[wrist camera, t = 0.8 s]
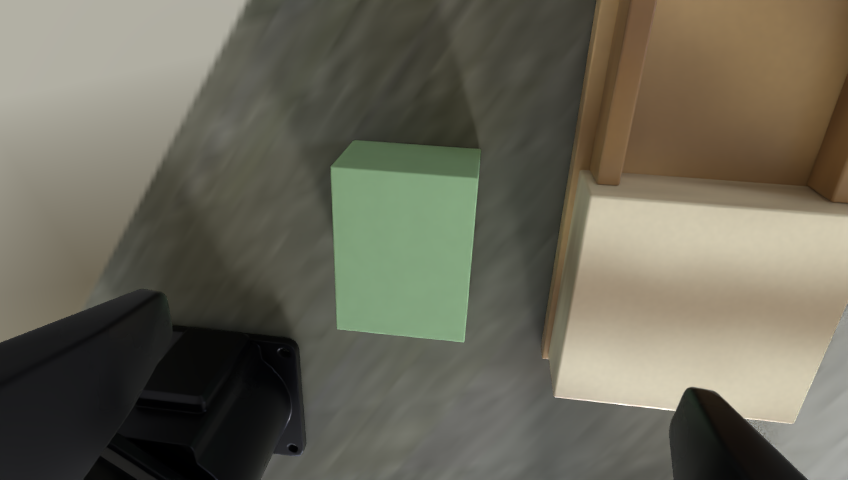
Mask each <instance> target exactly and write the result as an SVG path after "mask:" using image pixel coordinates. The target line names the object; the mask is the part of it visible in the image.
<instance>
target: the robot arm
mask: <svg viewBox="0 0 848 480" xmlns="http://www.w3.org/2000/svg"><path fill="white" fill-rule="evenodd" d="M282 348H285V349H287V350H289V352H286V351H284V350H283V349H282ZM669 438H670V448H671V458H672V468H673V477H674V480H808V479H807V478H806V477H805V476H804V475H802V474H801V473H800V472H799V471H798V470H797V469H796V468H795V467H794V466H793V465H792V464H791V463H790V462H789V461H788V460H787V459H786V458H785V457H784V456H783V455H782V454H781V453H780V452H779V451H778V450H776V449H775V448H774V447H773V446H772V445H771V444H770V443H769V442H768V441H767V440H766V439H765V438H764V437H763V436H762V435H761V434H760V433H759V432H758V431H757V430H756V429H755V428H754V427H753V426H752V425H750V424H749V423H748V422H747V421H746V420H745V419H744V418H743V417H742V416H741V415H740V414H739V413H738V412H737V411H736V410H735V409H734V408H733V407H732V406H731V405H730V404H729V403H728V402H727V401H726V400H725V399H723V398H722V397H721V396H720V395H719V394H718V393H717V392H715V391H713V390H708V389H703V388H697V387H689V388H687V389H686V390H685V391H684V393H683V395H682V397H681V400H680V402H679V404H678V406H677V409H676V411H675V413H674V416H673V418H672V420H671V423H670V429H669ZM295 445H296V446H295ZM305 446H306V434H305V421H304V408H303V395H302V382H301V369H300V356H299V347H298V344H297V343H296V342H295V341H294V340H292V339H290V338H285V337H275V336H266V335H257V334H247V333H239V332H230V331H221V330H211V329H202V328H192V327H182V326H172V322H171V317H170V311H169V306H168V300H167V297H166V296H165V294H164V293H162V292H159V291H153V290H148V289H139V290H136V291H133V292H131V293H128V294H126V295H123V296H120V297H118V298H115V299H113V300H110V301H107V302H105V303H102V304H100V305H97V306H94V307H92V308H89V309H87V310H84V311H81V312H79V313H76V314H74V315H71V316H69V317H66V318H64V319H61V320H58V321H55V322H53V323H50V324H48V325H45V326H43V327H40V328H37V329H35V330H32V331H29V332H27V333H24V334H22V335H19V336H17V337H14V338H11V339H9V340H6V341H3V342H1V343H0V480H261V478H262V476H263V473H264V471H265V469H266V467H267V465H268V463H269V461H270V459H271V456H272V454H281V455H289V456H299V455H301V454H302V453H303V451H304V449H305Z"/></svg>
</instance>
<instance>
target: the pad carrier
mask: <svg viewBox="0 0 848 480" xmlns="http://www.w3.org/2000/svg"><path fill="white" fill-rule="evenodd" d="M847 303H848V0H597V1H596V7H595V13H594V20H593V26H592V32H591V38H590V44H589V51H588V57H587V63H586V69H585V75H584V82H583V88H582V94H581V100H580V106H579V113H578V119H577V125H576V131H575V137H574V144H573V150H572V156H571V162H570V168H569V175H568V181H567V187H566V193H565V199H564V206H563V212H562V218H561V224H560V230H559V237H558V243H557V249H556V255H555V261H554V268H553V274H552V280H551V286H550V292H549V299H548V305H547V311H546V317H545V323H544V330H543V336H542V342H541V353H542V358H544V359H549V365H550V373H551V381H552V388H553V395H554V397H557V398H566V399H575V400H584V401H593V402H602V403H611V404H620V405H629V406H638V407H647V408H656V409H665V410H674V411H676V409H677V406H678V404H679V402H680V400H681V397H682V395H683V393H684V391H685V390H686V389H687V388H689V387H697V388H703V389H708V390H713V391H715V392H717V393H718V394H719V395H720V396H721V397H722V398H723V399H725V400H726V401H727V402H728V403H729V404H730V405H731V406H732V407H733V408H734V409H735V410H736V411H737V412H738V413H739V414H740V415H741V416H742V417H743V418H745V419H754V420H763V421H772V422H781V423H790V424H793V423H794V422H795V420H796V417H797V415H798V413H799V411H800V408H801V406H802V404H803V402H804V399H805V397H806V395H807V393H808V390H809V388H810V386H811V384H812V381H813V379H814V377H815V375H816V372H817V370H818V368H819V366H820V363H821V361H822V359H823V357H824V354H825V352H826V350H827V348H828V345H829V343H830V341H831V339H832V336H833V334H834V332H835V330H836V327H837V325H838V323H839V321H840V318H841V316H842V314H843V312H844V309H845V307H846V305H847Z"/></svg>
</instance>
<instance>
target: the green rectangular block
mask: <svg viewBox="0 0 848 480" xmlns="http://www.w3.org/2000/svg"><path fill="white" fill-rule="evenodd" d="M480 158H481V149H472V148H458V147H444V146H430V145H416V144H402V143H388V142H374V141H360V140H353V141H352V143H351V144H350V145H349V146H348V147H347V148H346V150H345V151H344V152H343V153H342V154H341V155H340V156H339V158H338V159H337V160H336V161H335V162H334V163H333V164H332V166H331V167H330V168H331V194H332V219H333V245H334V271H335V296H336V322H337V329H342V330H351V331H361V332H370V333H380V334H390V335H399V336H409V337H418V338H428V339H437V340H447V341H457V342H464V340H465V329H466V319H467V308H468V297H469V286H470V274H471V263H472V251H473V239H474V228H475V216H476V204H477V193H478V181H479V170H480Z"/></svg>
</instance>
